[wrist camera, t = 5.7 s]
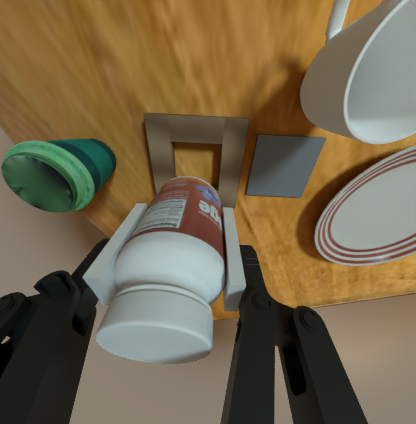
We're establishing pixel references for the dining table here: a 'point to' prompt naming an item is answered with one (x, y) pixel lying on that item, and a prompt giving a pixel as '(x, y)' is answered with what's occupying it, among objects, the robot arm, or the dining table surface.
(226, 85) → the dining table surface
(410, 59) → the mug
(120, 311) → the pill bottle
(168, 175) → the collar
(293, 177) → the coaster
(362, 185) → the dinner plate
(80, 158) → the cup
